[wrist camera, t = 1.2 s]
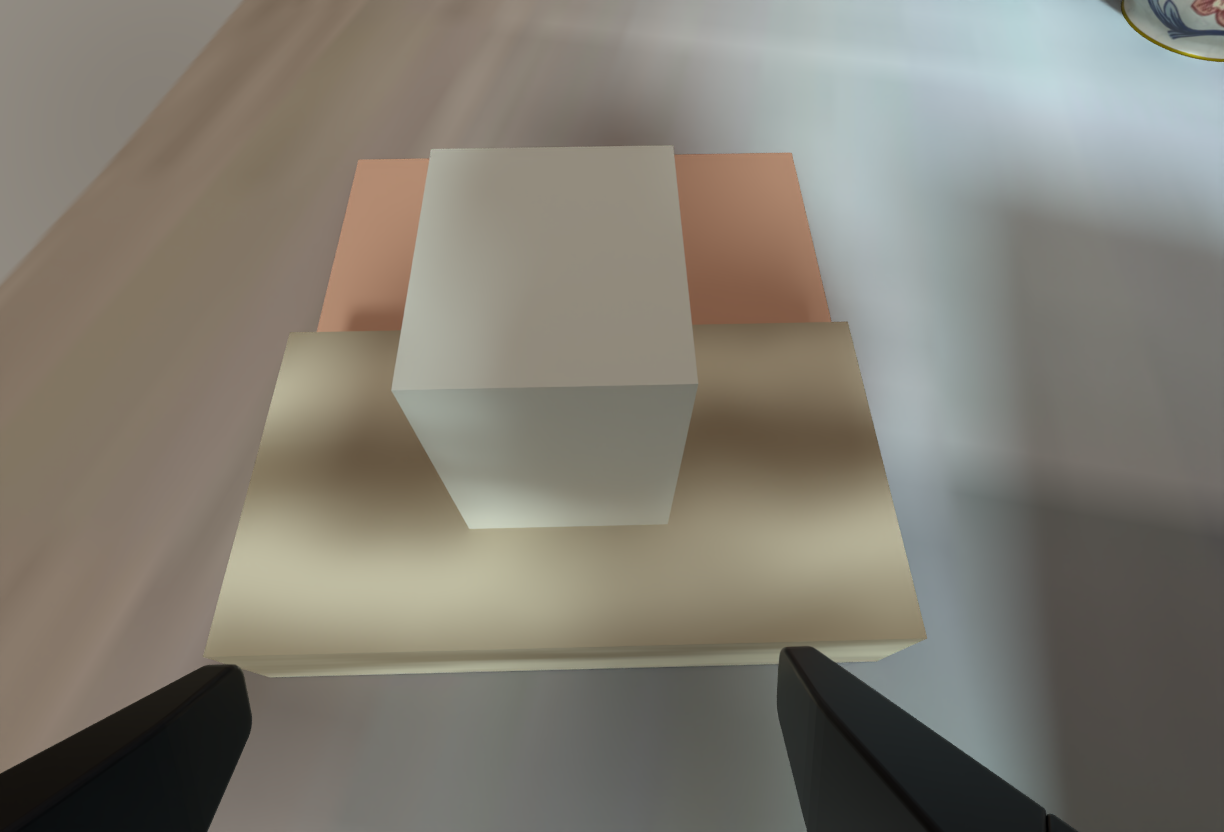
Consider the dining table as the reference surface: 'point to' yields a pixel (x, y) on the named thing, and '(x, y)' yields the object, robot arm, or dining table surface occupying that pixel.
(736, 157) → the mat
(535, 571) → the board
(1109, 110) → the dining table surface
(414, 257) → the block
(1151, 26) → the chinaware
